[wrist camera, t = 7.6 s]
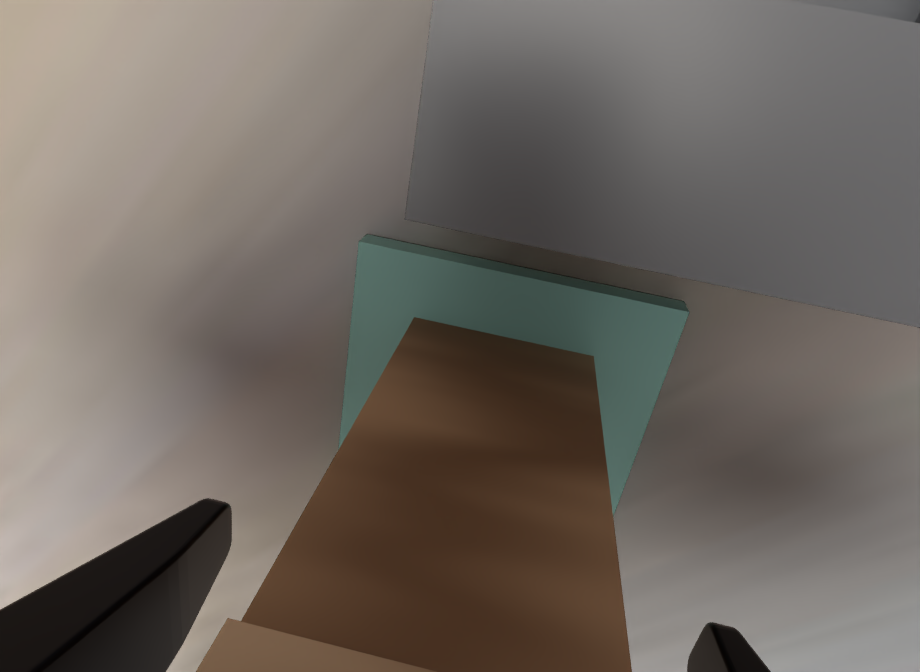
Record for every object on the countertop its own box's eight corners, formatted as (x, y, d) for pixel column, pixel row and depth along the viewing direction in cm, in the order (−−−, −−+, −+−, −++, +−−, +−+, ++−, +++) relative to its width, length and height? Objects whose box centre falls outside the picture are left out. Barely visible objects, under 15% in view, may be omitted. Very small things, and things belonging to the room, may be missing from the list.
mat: (683, 301, 13) (689, 311, 12) (596, 542, 16) (597, 559, 15) (367, 234, 13) (358, 241, 13) (341, 480, 16) (333, 495, 16)
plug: (599, 353, 13) (662, 798, 5) (553, 502, 15) (548, 996, 7) (410, 311, 13) (194, 675, 5) (389, 463, 15) (205, 897, 7)
